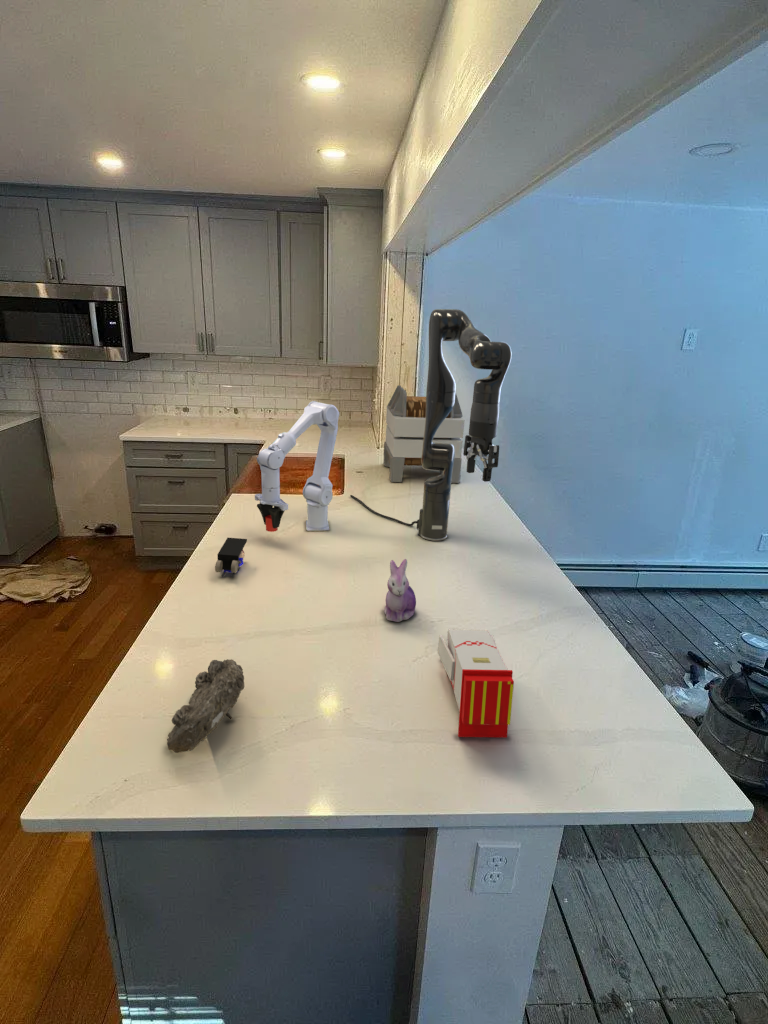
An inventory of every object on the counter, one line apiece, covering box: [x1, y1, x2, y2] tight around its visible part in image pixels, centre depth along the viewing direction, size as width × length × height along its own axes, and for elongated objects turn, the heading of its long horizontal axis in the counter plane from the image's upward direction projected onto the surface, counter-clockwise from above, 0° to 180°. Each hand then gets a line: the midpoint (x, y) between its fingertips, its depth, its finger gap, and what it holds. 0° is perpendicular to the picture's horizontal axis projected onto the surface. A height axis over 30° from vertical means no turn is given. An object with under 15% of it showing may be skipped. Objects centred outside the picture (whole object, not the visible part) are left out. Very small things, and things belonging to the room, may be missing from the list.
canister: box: [265, 515, 279, 533], centre depth 186 cm, size 4×4×5 cm
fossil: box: [166, 658, 245, 754], centre depth 106 cm, size 22×10×15 cm
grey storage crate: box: [383, 384, 465, 484], centre depth 268 cm, size 34×33×41 cm
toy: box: [437, 628, 515, 738], centre depth 117 cm, size 12×13×30 cm
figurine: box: [384, 558, 417, 623], centre depth 145 cm, size 9×10×15 cm
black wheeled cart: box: [214, 537, 248, 578], centre depth 166 cm, size 7×8×15 cm
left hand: (271, 525), depth 187 cm, fingers closed on canister, 4 cm apart
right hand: (478, 476), depth 158 cm, fingers open, 8 cm apart
